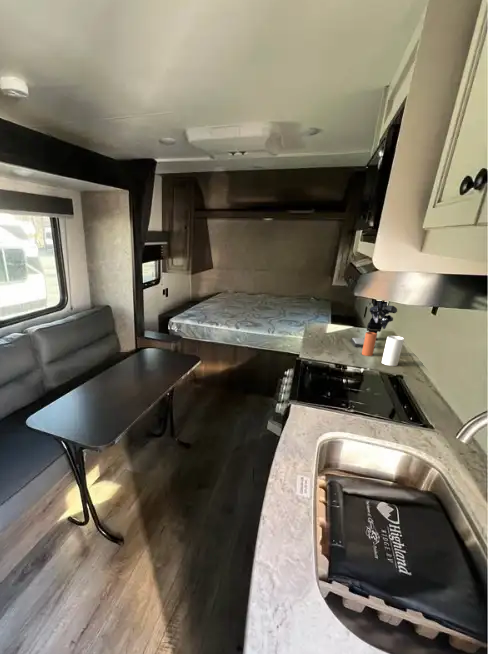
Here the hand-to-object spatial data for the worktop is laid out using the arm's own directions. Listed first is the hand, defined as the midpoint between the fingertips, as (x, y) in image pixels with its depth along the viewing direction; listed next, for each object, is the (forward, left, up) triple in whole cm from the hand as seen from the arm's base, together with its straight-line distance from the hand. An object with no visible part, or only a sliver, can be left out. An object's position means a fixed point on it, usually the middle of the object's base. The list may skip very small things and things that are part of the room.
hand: (380, 325), depth 213 cm
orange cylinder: (+13, -8, -16) cm, 22 cm away
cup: (+27, +1, -16) cm, 32 cm away
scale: (-10, -7, -16) cm, 20 cm away
